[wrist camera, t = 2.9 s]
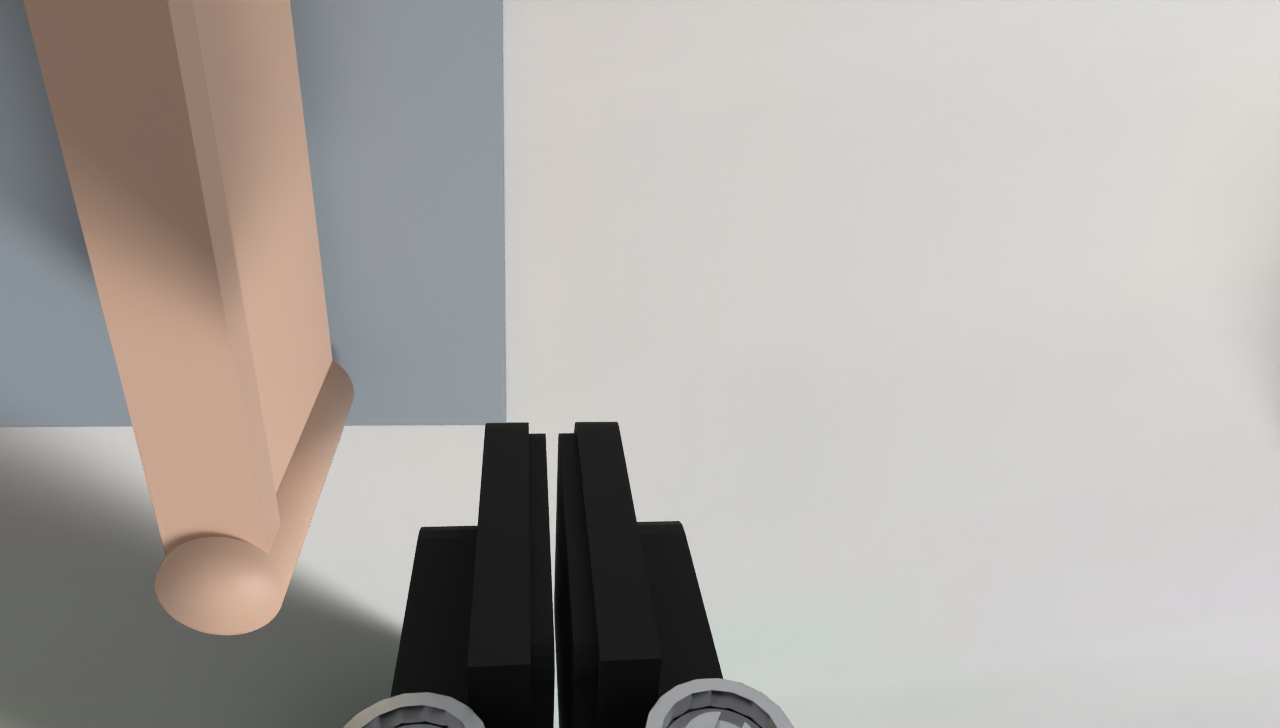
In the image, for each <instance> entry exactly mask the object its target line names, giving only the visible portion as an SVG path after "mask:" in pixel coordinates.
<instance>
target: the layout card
mask: <svg viewBox="0 0 1280 728" xmlns="http://www.w3.org/2000/svg"><path fill="white" fill-rule="evenodd" d="M290 5H291V13H292V22H293V30H294V39H295V47H296V56H297V64H298V72H299V81H300V89H301V98H302V106H303V115H304V123H305V131H306V140H307V148H308V157H309V165H310V174H311V182H312V191H313V199H314V207H315V216H316V224H317V233H318V241H319V250H320V258H321V266H322V275H323V283H324V292H325V300H326V309H327V317H328V326H329V334H330V342H331V351H332V359H333V361H335V362H336V363H338V364H339V365H340V366H341V367H342V368H343V369H344V370H345V371H346V372H347V374H348V375H349V377H350V379H351V381H352V384H353V388H354V398H353V402H352V405H351V408H350V411H349V414H348V417H347V420H346V423H345V426H348V425H486V423H506V345H505V228H504V111H503V0H290ZM89 426H132V422H131V419H130V415H129V411H128V407H127V403H126V399H125V395H124V391H123V387H122V384H121V380H120V376H119V372H118V368H117V364H116V360H115V356H114V352H113V348H112V345H111V341H110V337H109V333H108V329H107V325H106V321H105V317H104V313H103V309H102V306H101V302H100V298H99V294H98V290H97V286H96V282H95V278H94V274H93V270H92V267H91V263H90V259H89V255H88V251H87V247H86V243H85V239H84V235H83V231H82V228H81V224H80V220H79V216H78V212H77V208H76V204H75V200H74V196H73V192H72V189H71V185H70V181H69V177H68V173H67V169H66V165H65V161H64V157H63V153H62V150H61V146H60V142H59V138H58V134H57V130H56V126H55V122H54V118H53V114H52V111H51V107H50V103H49V99H48V95H47V91H46V87H45V83H44V79H43V76H42V72H41V68H40V64H39V60H38V56H37V52H36V48H35V44H34V40H33V37H32V33H31V29H30V25H29V21H28V17H27V13H26V9H25V5H24V1H23V0H0V427H89Z"/></svg>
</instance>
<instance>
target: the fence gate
mask: <svg viewBox="0 0 1280 728" xmlns="http://www.w3.org/2000/svg"><path fill="white" fill-rule="evenodd" d="M23 1H24V5H25V9H26V13H27V17H28V21H29V25H30V29H31V33H32V37H33V40H34V44H35V48H36V52H37V56H38V60H39V64H40V68H41V72H42V76H43V79H44V83H45V87H46V91H47V95H48V99H49V103H50V107H51V111H52V114H53V118H54V122H55V126H56V130H57V134H58V138H59V142H60V146H61V150H62V153H63V157H64V161H65V165H66V169H67V173H68V177H69V181H70V185H71V189H72V192H73V196H74V200H75V204H76V208H77V212H78V216H79V220H80V224H81V228H82V231H83V235H84V239H85V243H86V247H87V251H88V255H89V259H90V263H91V267H92V270H93V274H94V278H95V282H96V286H97V290H98V294H99V298H100V302H101V306H102V309H103V313H104V317H105V321H106V325H107V329H108V333H109V337H110V341H111V345H112V348H113V352H114V356H115V360H116V364H117V368H118V372H119V376H120V380H121V384H122V387H123V391H124V395H125V399H126V403H127V407H128V411H129V415H130V419H131V422H132V426H133V430H134V434H135V438H136V442H137V446H138V450H139V454H140V458H141V461H142V465H143V469H144V473H145V477H146V481H147V485H148V489H149V493H150V497H151V500H152V504H153V508H154V512H155V516H156V520H157V524H158V528H159V532H160V536H161V539H162V543H163V547H164V551H165V555H166V557H165V559H164V561H163V562H162V564H161V566H160V568H159V570H158V572H157V574H156V578H155V592H156V596H157V598H158V600H159V602H160V604H161V606H162V607H163V608H164V610H165V611H166V612H167V613H168V614H169V615H170V616H172V617H173V618H174V619H175V620H177V621H178V622H180V623H181V624H183V625H185V626H187V627H189V628H192V629H194V630H197V631H200V632H204V633H208V634H214V635H239V634H244V633H248V632H252V631H254V630H257V629H259V628H261V627H263V626H265V625H266V624H268V623H269V622H270V621H271V620H272V619H273V618H274V617H275V616H276V615H277V614H278V612H279V610H280V608H281V606H282V603H283V600H284V597H285V594H286V592H287V589H288V586H289V583H290V580H291V577H292V574H293V572H294V569H295V566H296V563H297V560H298V557H299V554H300V552H301V549H302V546H303V543H304V540H305V537H306V534H307V531H308V529H309V526H310V523H311V520H312V517H313V514H314V511H315V509H316V506H317V503H318V500H319V497H320V494H321V491H322V489H323V486H324V483H325V480H326V477H327V474H328V471H329V468H330V466H331V463H332V460H333V457H334V454H335V451H336V448H337V446H338V443H339V440H340V437H341V434H342V431H343V428H344V426H345V423H346V420H347V417H348V414H349V411H350V408H351V405H352V402H353V398H354V388H353V384H352V381H351V379H350V377H349V375H348V374H347V372H346V371H345V370H344V369H343V368H342V367H341V366H340V365H339V364H338V363H336V362H335V361H333V359H332V351H331V342H330V334H329V326H328V317H327V309H326V300H325V292H324V283H323V275H322V266H321V258H320V250H319V241H318V233H317V224H316V216H315V207H314V199H313V191H312V182H311V174H310V165H309V157H308V148H307V140H306V131H305V123H304V115H303V106H302V98H301V89H300V81H299V72H298V64H297V56H296V47H295V39H294V30H293V22H292V13H291V5H290V0H23Z"/></svg>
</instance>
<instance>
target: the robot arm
mask: <svg viewBox="0 0 1280 728" xmlns="http://www.w3.org/2000/svg"><path fill="white" fill-rule="evenodd" d="M554 614H555V640H556V663H557V686H558V709H559V728H794V727H793V725H792V723H791V722H790V721H789V719H788V718H787V716H786V715H785V714H784V712H783V711H782V709H781V708H780V707H779V706H778V705H777V704H775V703H774V702H773V701H772V700H771V699H769V698H768V697H767V696H766V695H764V694H763V693H762V692H760V691H758V690H755V689H753V688H751V687H749V686H747V685H745V684H743V683H740V682H735V681H730V680H725V679H723V676H722V672H721V669H720V665H719V661H718V657H717V653H716V650H715V646H714V642H713V638H712V634H711V630H710V627H709V623H708V619H707V615H706V611H705V608H704V604H703V600H702V596H701V592H700V588H699V585H698V581H697V577H696V573H695V569H694V566H693V562H692V558H691V554H690V550H689V546H688V543H687V539H686V535H685V532H684V529H683V526H682V524H681V523H680V522H679V521H665V522H637V521H636V516H635V510H634V505H633V500H632V494H631V489H630V484H629V478H628V473H627V468H626V462H625V457H624V452H623V446H622V441H621V435H620V430H619V425H618V423H617V422H575V429H574V433H563V434H559V437H558V472H557V512H556V552H555V592H554ZM554 677H555V665H554V626H553V602H552V578H551V554H550V530H549V506H548V482H547V458H546V435H545V434H529V423H486V425H485V437H484V451H483V464H482V477H481V490H480V503H479V516H478V526H448V527H421V529H420V531H419V536H418V541H417V546H416V552H415V558H414V564H413V570H412V576H411V581H410V587H409V593H408V599H407V605H406V611H405V617H404V622H403V628H402V634H401V640H400V646H399V652H398V657H397V663H396V669H395V675H394V681H393V687H392V692H391V698H387V699H384V700H381V701H379V702H377V703H375V704H373V705H371V706H370V707H368V708H366V709H364V710H363V711H361V712H359V713H357V714H356V715H355V716H354V717H353V718H352V719H351V720H350V721H349V722H348V723H347V724H346V725H345V726H344V727H343V728H553V720H554Z"/></svg>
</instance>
